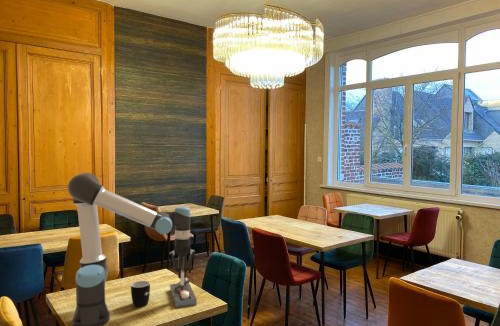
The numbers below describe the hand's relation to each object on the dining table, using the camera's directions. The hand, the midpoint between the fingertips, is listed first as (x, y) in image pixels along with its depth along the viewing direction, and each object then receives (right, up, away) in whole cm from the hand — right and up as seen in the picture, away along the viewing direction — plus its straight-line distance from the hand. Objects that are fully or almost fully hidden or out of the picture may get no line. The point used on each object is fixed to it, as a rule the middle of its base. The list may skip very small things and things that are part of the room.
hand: (182, 284), depth 189 cm
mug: (-19, -8, -4) cm, 21 cm away
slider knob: (-1, -4, +13) cm, 14 cm away
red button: (+1, -7, 0) cm, 7 cm away
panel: (0, -7, +3) cm, 8 cm away
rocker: (-1, -2, +6) cm, 6 cm away
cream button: (+2, -5, -5) cm, 8 cm away
